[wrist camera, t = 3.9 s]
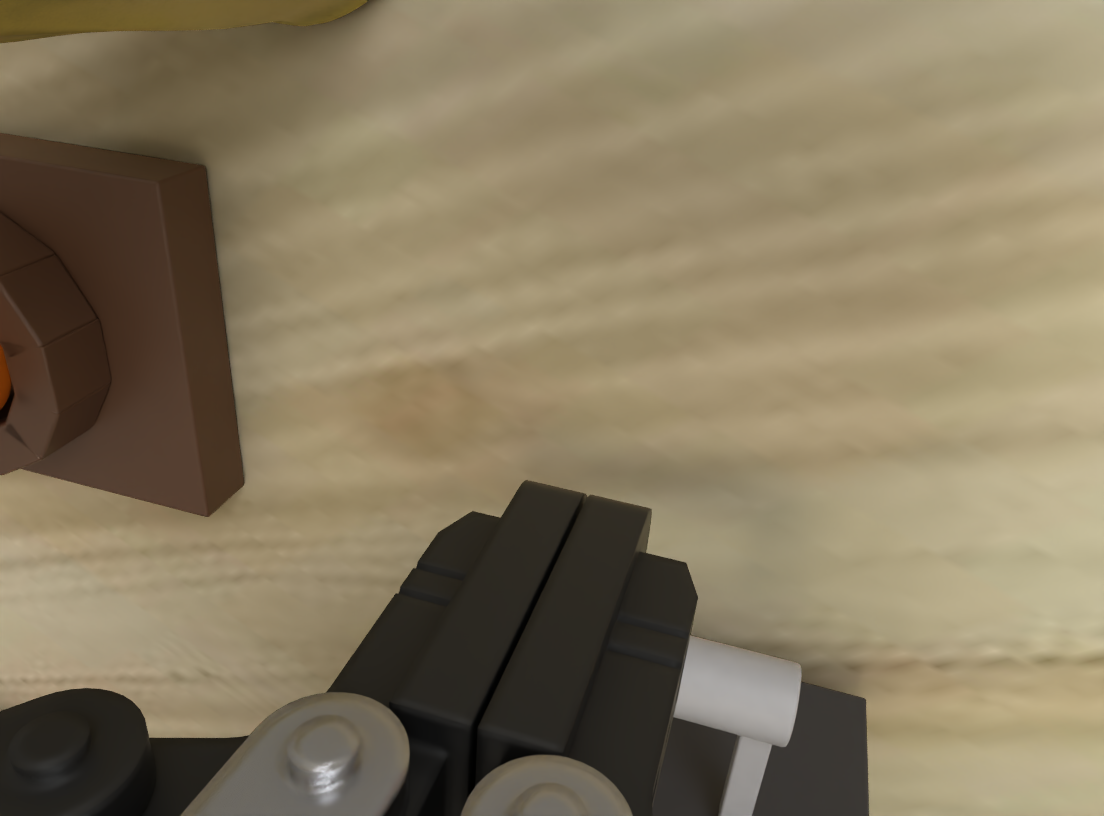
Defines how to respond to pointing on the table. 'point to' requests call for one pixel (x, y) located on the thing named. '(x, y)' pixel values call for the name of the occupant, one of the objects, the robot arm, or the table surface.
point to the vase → (158, 15)
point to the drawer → (761, 741)
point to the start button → (4, 379)
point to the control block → (114, 326)
